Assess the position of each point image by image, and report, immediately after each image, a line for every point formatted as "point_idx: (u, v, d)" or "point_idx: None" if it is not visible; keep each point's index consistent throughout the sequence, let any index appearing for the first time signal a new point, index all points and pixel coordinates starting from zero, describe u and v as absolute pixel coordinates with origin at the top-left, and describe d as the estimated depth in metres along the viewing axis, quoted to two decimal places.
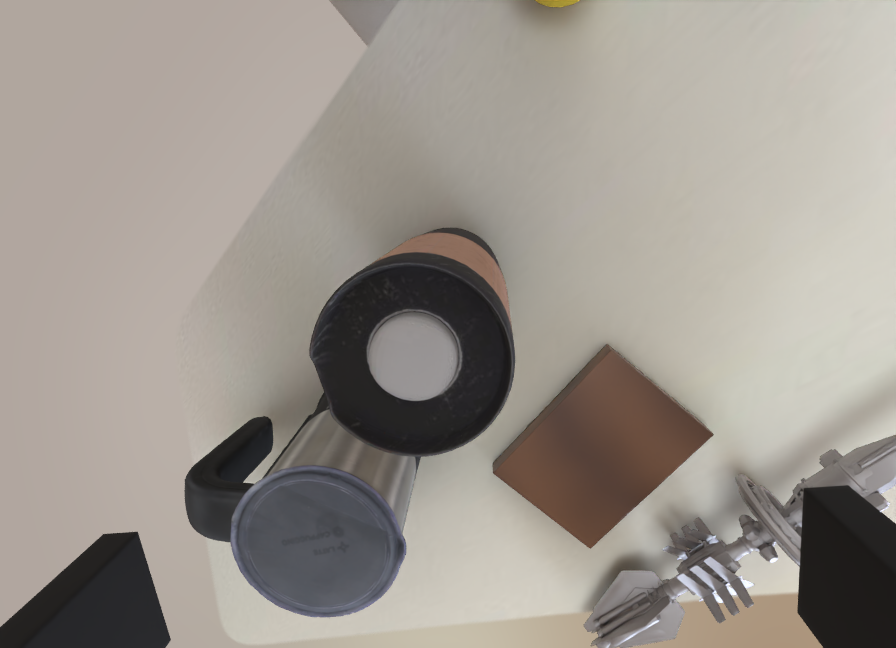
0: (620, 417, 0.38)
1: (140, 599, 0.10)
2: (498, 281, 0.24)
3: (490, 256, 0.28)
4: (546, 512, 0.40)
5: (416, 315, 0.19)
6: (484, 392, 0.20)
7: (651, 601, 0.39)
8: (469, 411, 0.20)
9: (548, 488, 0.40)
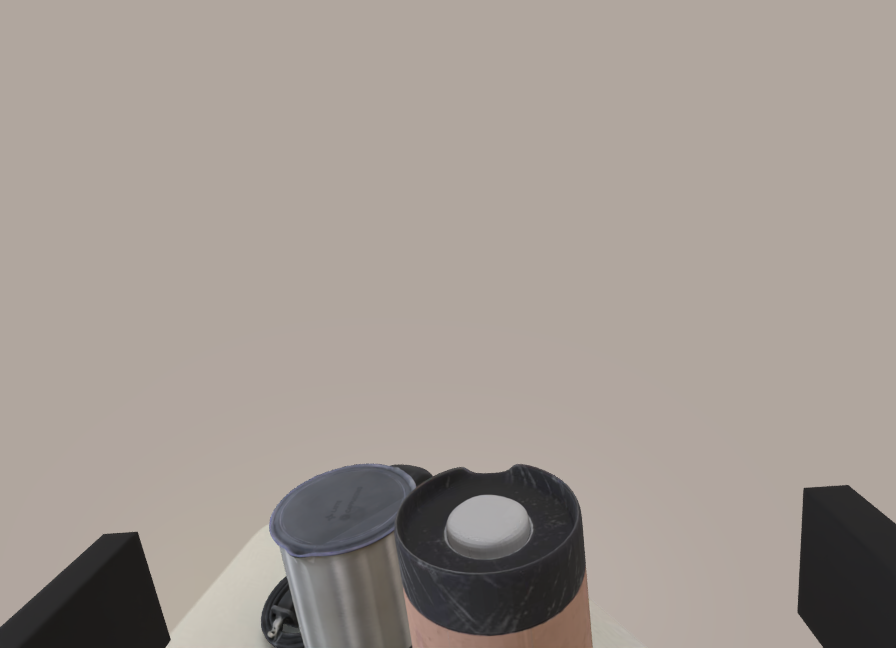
0: None
1: (140, 599, 0.10)
2: None
3: None
4: None
5: (526, 530, 0.20)
6: None
7: None
8: (418, 553, 0.20)
9: None
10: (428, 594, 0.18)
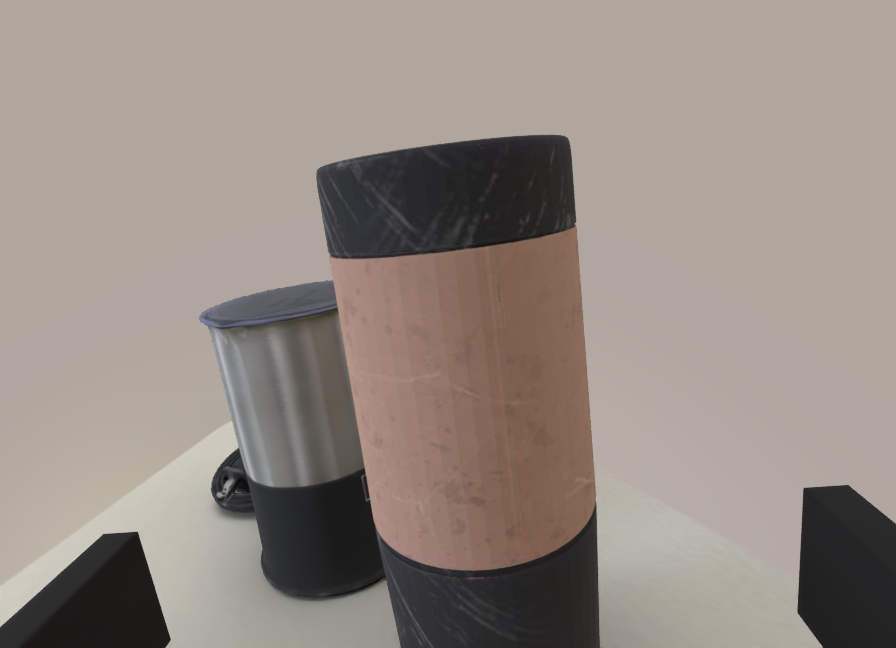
0: None
1: (140, 599, 0.10)
2: (493, 388, 0.13)
3: (533, 550, 0.14)
4: None
5: None
6: None
7: None
8: None
9: None
10: (352, 210, 0.13)
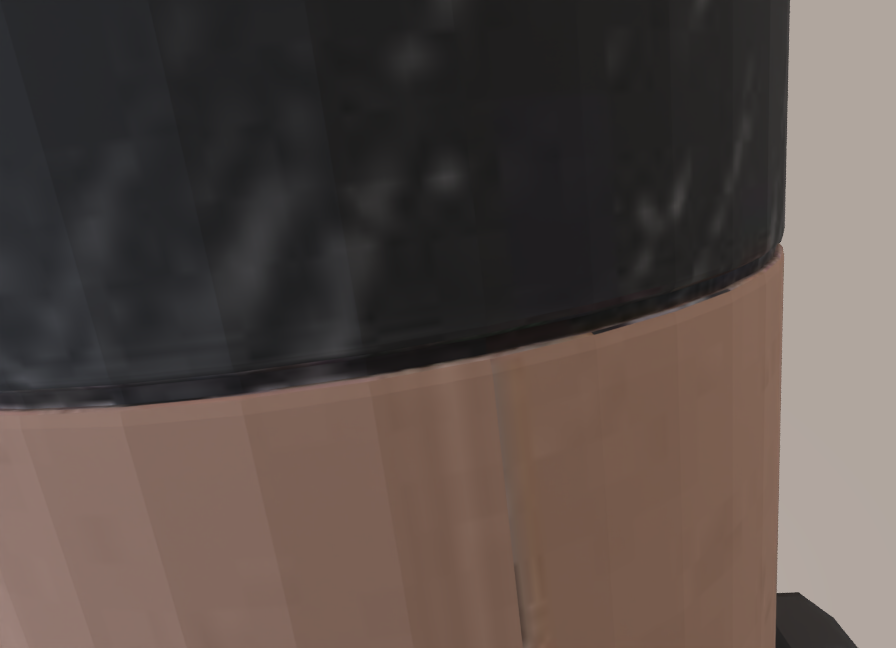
0: None
1: None
2: None
3: None
4: None
5: None
6: None
7: None
8: None
9: None
10: None
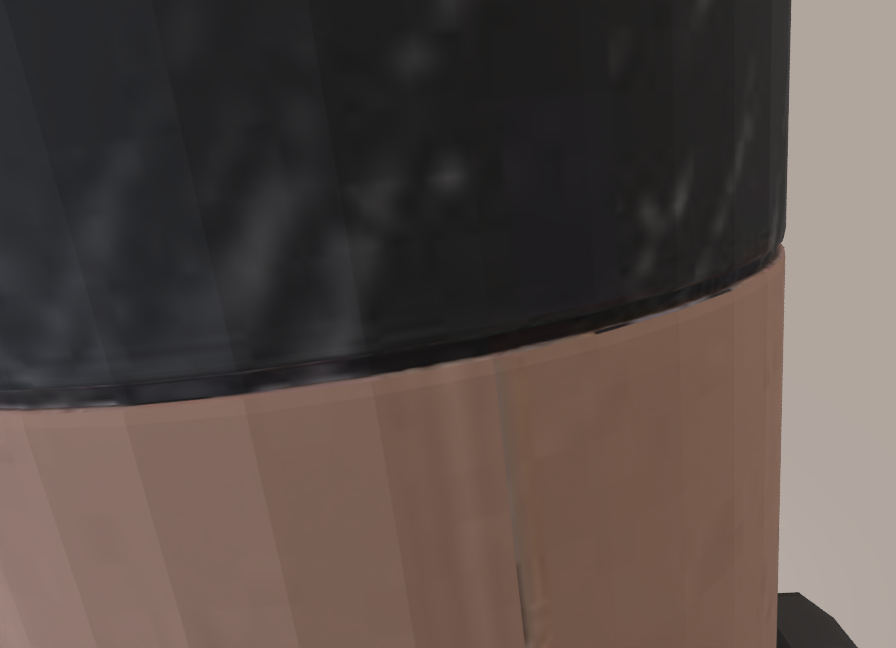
0: None
1: None
2: None
3: None
4: None
5: None
6: None
7: None
8: None
9: None
10: None
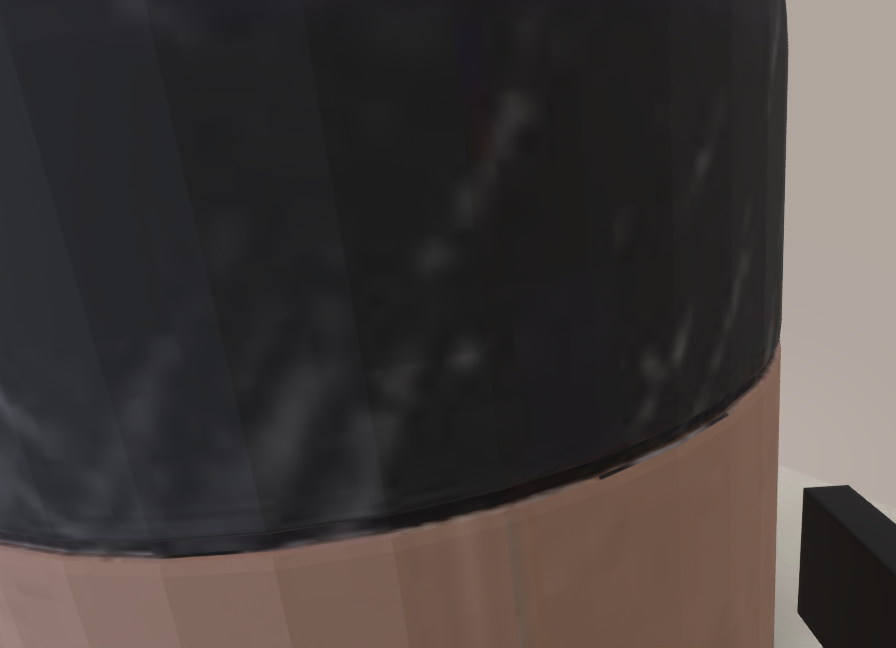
0: None
1: None
2: None
3: None
4: None
5: None
6: None
7: None
8: None
9: None
10: None
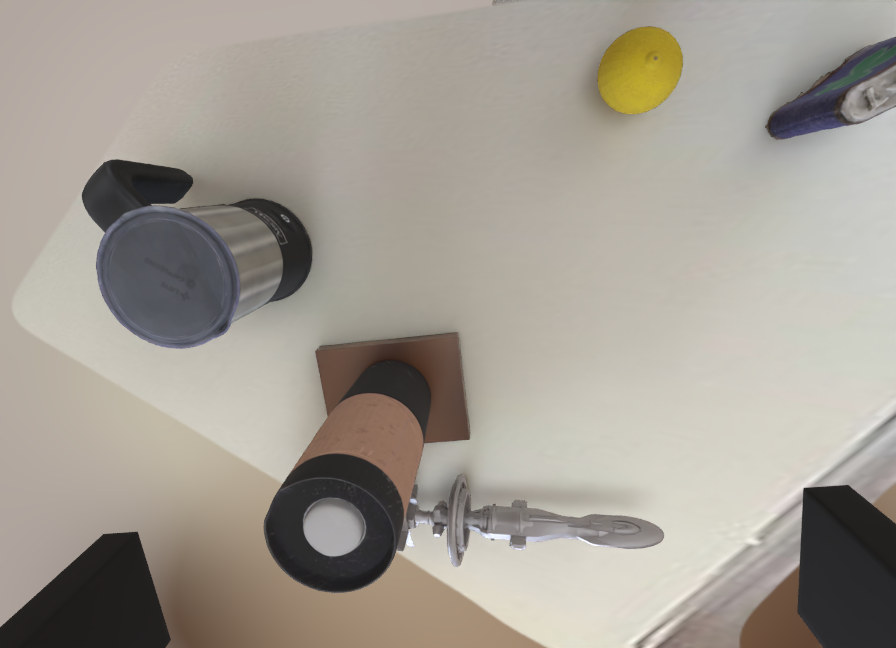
0: None
1: (140, 599, 0.10)
2: None
3: (422, 445, 0.39)
4: (327, 404, 0.48)
5: (354, 513, 0.29)
6: (353, 569, 0.30)
7: None
8: (337, 571, 0.30)
9: (342, 390, 0.48)
10: None
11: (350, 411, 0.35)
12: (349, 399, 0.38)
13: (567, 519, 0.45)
